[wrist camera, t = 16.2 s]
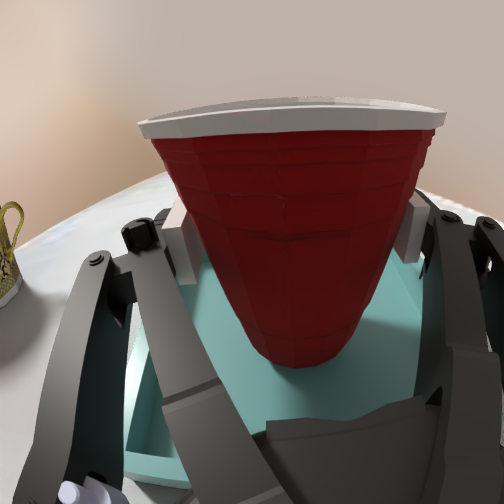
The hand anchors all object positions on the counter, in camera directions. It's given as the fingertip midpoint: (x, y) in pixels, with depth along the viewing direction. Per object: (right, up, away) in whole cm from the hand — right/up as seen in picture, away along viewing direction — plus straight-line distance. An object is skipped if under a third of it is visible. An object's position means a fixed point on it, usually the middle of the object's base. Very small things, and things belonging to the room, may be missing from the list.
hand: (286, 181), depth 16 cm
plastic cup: (+1, -8, 0) cm, 8 cm away
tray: (+1, -10, +1) cm, 10 cm away
